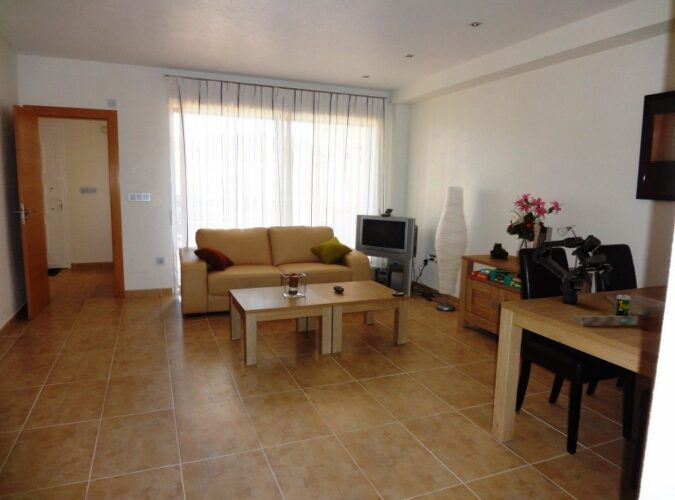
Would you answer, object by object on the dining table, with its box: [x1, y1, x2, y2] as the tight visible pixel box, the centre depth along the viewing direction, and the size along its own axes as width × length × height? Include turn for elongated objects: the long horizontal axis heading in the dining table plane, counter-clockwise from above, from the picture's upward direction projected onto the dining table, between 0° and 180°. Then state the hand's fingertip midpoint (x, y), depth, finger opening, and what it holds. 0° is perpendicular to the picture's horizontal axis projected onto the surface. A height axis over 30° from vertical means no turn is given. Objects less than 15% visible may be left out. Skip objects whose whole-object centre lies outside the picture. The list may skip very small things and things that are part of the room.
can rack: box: [571, 313, 639, 327], centre depth 204 cm, size 24×9×4 cm, turn 89°
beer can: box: [614, 294, 631, 316], centre depth 204 cm, size 5×5×12 cm
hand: (600, 285), depth 216 cm, fingers open, 9 cm apart
